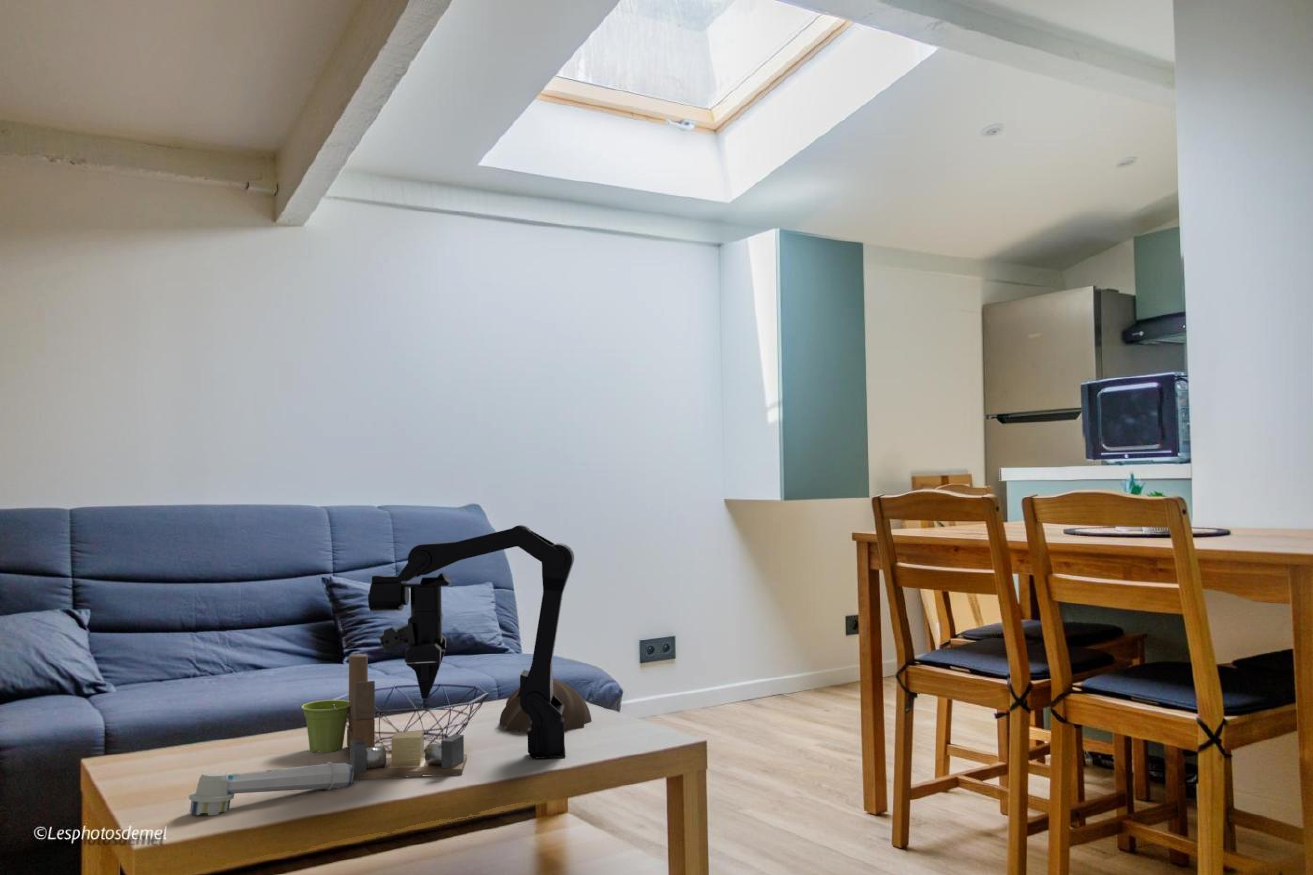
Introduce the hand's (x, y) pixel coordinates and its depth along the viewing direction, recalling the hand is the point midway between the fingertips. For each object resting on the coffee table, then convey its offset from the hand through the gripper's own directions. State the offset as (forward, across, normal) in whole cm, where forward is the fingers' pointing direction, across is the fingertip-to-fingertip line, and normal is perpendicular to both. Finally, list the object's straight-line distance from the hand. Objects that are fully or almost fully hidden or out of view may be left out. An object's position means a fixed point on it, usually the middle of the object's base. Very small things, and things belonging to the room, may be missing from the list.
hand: (427, 693), depth 181 cm
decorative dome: (+12, -24, +23) cm, 35 cm away
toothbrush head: (+12, +21, -23) cm, 33 cm away
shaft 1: (+11, +9, -9) cm, 17 cm away
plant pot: (+12, -11, -20) cm, 26 cm away
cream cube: (+11, +7, -3) cm, 13 cm away
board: (+12, +8, -3) cm, 14 cm away
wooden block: (+12, -8, -13) cm, 19 cm away
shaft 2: (+11, +10, +4) cm, 15 cm away
